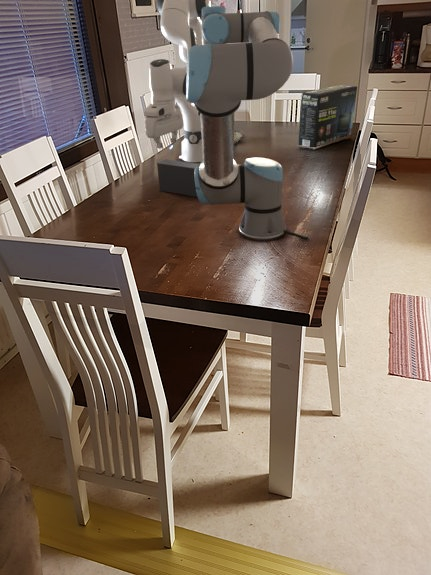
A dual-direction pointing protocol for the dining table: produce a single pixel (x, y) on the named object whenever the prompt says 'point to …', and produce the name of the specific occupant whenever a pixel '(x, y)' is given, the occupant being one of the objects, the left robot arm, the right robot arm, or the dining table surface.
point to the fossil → (238, 135)
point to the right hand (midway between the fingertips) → (217, 132)
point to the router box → (326, 115)
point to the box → (177, 177)
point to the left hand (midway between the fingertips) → (166, 145)
